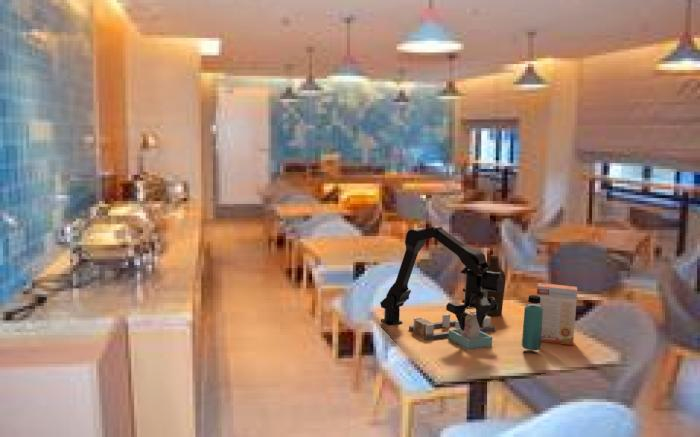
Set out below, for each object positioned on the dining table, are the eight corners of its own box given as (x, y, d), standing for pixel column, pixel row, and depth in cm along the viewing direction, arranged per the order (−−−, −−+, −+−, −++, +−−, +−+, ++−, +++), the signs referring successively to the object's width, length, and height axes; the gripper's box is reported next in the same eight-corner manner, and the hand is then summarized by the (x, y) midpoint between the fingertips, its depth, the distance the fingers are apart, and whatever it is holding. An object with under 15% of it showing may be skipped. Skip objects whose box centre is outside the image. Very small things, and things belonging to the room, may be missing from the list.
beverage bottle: (541, 355, 218) (545, 299, 216) (521, 353, 220) (525, 297, 217) (539, 349, 225) (544, 294, 222) (520, 347, 226) (524, 292, 223)
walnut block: (414, 332, 239) (415, 319, 238) (423, 331, 240) (424, 318, 240) (422, 337, 233) (423, 324, 233) (432, 336, 235) (432, 323, 234)
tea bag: (467, 337, 233) (469, 311, 232) (478, 343, 227) (480, 316, 226) (459, 338, 232) (460, 312, 230) (470, 344, 226) (472, 317, 224)
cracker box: (573, 341, 235) (577, 286, 232) (573, 346, 229) (578, 289, 226) (533, 335, 240) (538, 281, 237) (532, 340, 234) (537, 285, 231)
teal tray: (448, 339, 232) (448, 329, 232) (471, 335, 237) (471, 326, 236) (468, 349, 221) (468, 340, 221) (491, 346, 226) (492, 337, 225)
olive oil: (496, 309, 274) (500, 252, 270) (507, 316, 263) (511, 257, 260) (473, 310, 271) (477, 252, 268) (484, 317, 261) (488, 257, 257)
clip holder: (408, 329, 241) (409, 317, 241) (475, 321, 255) (475, 309, 254) (426, 340, 230) (427, 326, 229) (495, 331, 243) (495, 318, 243)
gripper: (465, 294, 215) (462, 339, 217) (508, 290, 223) (505, 333, 225) (446, 287, 225) (444, 329, 227) (489, 283, 233) (486, 324, 235)
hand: (470, 329), depth 228 cm, fingers open, 7 cm apart
